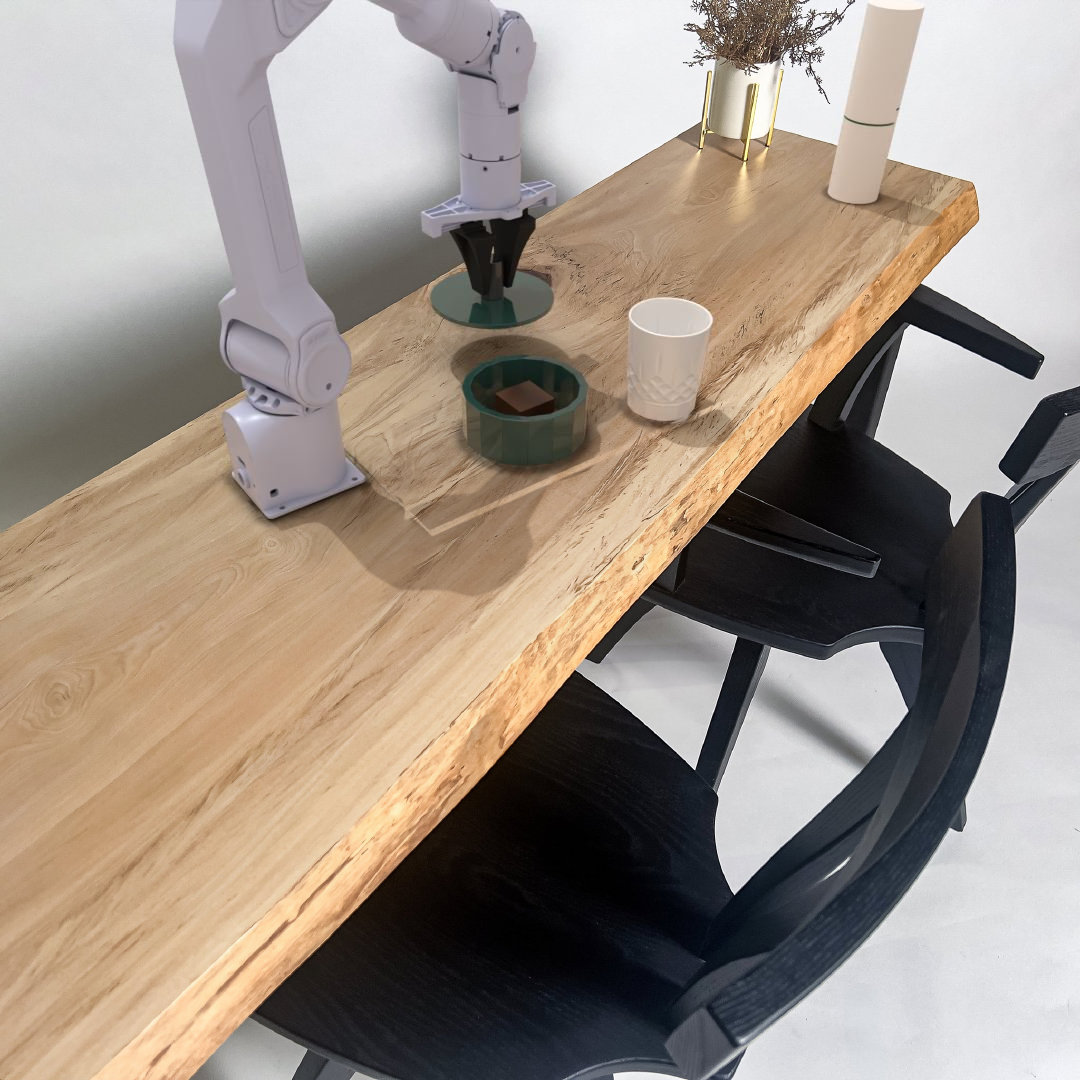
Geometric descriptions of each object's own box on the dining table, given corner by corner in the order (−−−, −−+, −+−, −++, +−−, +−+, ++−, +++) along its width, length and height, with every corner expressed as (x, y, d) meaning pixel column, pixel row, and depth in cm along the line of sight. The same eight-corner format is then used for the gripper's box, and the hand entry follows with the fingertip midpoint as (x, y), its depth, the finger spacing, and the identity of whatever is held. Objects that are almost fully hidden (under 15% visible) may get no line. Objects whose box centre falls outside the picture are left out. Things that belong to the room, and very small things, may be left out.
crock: (510, 485, 87) (510, 435, 83) (441, 426, 94) (438, 378, 90) (609, 442, 92) (613, 393, 89) (536, 389, 99) (537, 342, 96)
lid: (476, 347, 93) (475, 298, 90) (407, 298, 101) (403, 251, 97) (579, 312, 99) (581, 265, 96) (506, 268, 107) (506, 222, 103)
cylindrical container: (883, 192, 143) (931, 2, 127) (868, 207, 138) (916, 12, 122) (836, 182, 146) (877, -5, 129) (820, 196, 141) (860, 4, 125)
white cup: (642, 378, 101) (651, 289, 95) (712, 400, 98) (726, 310, 92) (607, 413, 96) (614, 322, 90) (679, 437, 93) (692, 344, 87)
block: (520, 448, 91) (520, 412, 88) (495, 428, 93) (494, 392, 90) (553, 434, 93) (554, 398, 90) (528, 415, 95) (529, 379, 92)
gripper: (447, 180, 84) (453, 322, 93) (578, 148, 91) (572, 284, 99) (405, 156, 88) (415, 295, 97) (532, 128, 95) (531, 259, 104)
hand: (491, 287), depth 98 cm, fingers closed on lid, 2 cm apart
